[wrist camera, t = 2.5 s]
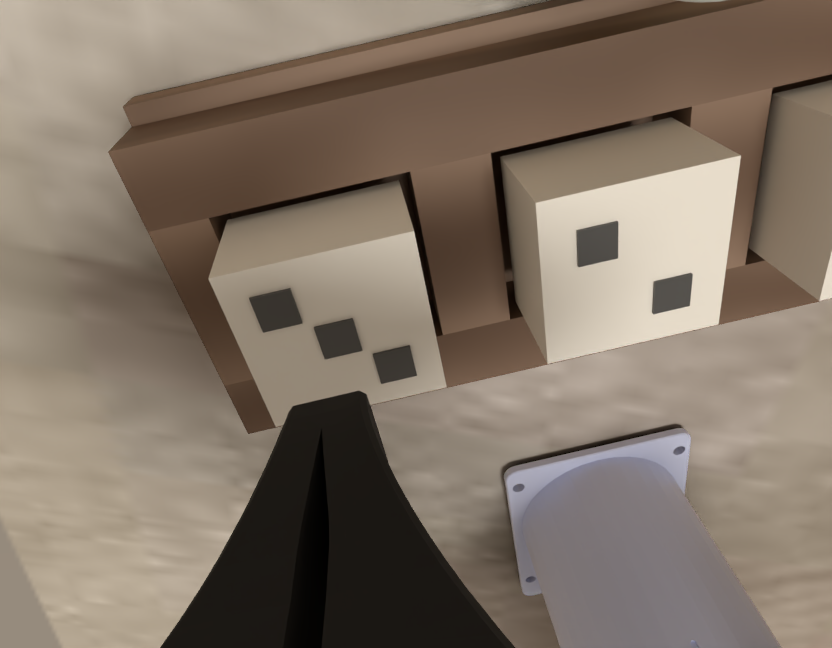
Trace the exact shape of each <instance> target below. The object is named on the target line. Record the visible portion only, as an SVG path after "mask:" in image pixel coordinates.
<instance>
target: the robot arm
mask: <svg viewBox="0 0 832 648" xmlns="http://www.w3.org/2000/svg"><path fill="white" fill-rule="evenodd" d="M690 443H691V436H690V435H689V433H688V432H687V431H686V430H685V429H683V428H676V429H671V430H667V431H663V432H658V433H654V434H650V435H645V436H641V437H637V438H632V439H628V440H624V441H620V442H615V443H611V444H607V445H602V446H598V447H594V448H589V449H585V450H581V451H576V452H572V453H568V454H564V455H559V456H555V457H551V458H546V459H542V460H538V461H533V462H529V463H525V464H520V465H516V466H513V467H510V468H509V469H507V470H506V472H505V473H504V480H505V487H506V493H507V500H508V506H509V513H510V520H511V526H512V533H513V539H514V546H515V552H516V559H517V565H518V572H519V579H520V585H521V589H522V592H523V594H525V595H527V596H533V595H537V594H541V593H542V594H543V597H544V600H545V603H546V606H547V609H548V612H549V615H550V618H551V621H552V624H553V627H554V630H555V633H556V636H557V639H558V642H559V645H560V648H782V647H781V646H780V644H779V643H778V641H777V640H776V638H775V636H774V635H773V633H772V632H771V630H770V629H769V627H768V625H767V624H766V622H765V621H764V619H763V618H762V616H761V614H760V613H759V611H758V610H757V608H756V607H755V605H754V603H753V602H752V600H751V599H750V597H749V596H748V594H747V592H746V591H745V589H744V588H743V586H742V585H741V583H740V581H739V580H738V578H737V577H736V575H735V574H734V572H733V570H732V569H731V567H730V566H729V564H728V563H727V561H726V559H725V558H724V556H723V555H722V553H721V552H720V550H719V548H718V547H717V545H716V544H715V542H714V541H713V539H712V537H711V536H710V534H709V533H708V531H707V530H706V528H705V526H704V525H703V523H702V522H701V520H700V519H699V517H698V515H697V514H696V512H695V511H694V509H693V508H692V506H691V504H690V503H689V501H688V500H687V498H686V497H685V486H686V478H687V469H688V461H689V452H690ZM516 484H517V485H516ZM160 648H515V647H514V646H513V645H512V643H511V642H510V641H509V640H508V639H507V638H506V637H505V635H504V634H503V633H502V632H501V630H500V629H499V628H498V627H497V625H496V624H495V623H494V622H493V620H492V619H491V618H490V617H489V615H488V614H487V613H486V612H485V610H484V609H483V608H482V607H481V605H480V604H479V603H478V602H477V600H476V599H475V598H474V597H473V596H472V594H471V593H470V592H469V591H468V589H467V588H466V587H465V585H464V584H463V583H462V581H461V580H460V579H459V577H458V576H457V574H456V573H455V572H454V570H453V569H452V568H451V566H450V565H449V563H448V562H447V561H446V559H445V558H444V556H443V555H442V553H441V552H440V551H439V549H438V548H437V546H436V545H435V543H434V542H433V540H432V539H431V537H430V536H429V534H428V533H427V531H426V530H425V528H424V526H423V525H422V523H421V522H420V520H419V518H418V517H417V515H416V514H415V512H414V510H413V508H412V507H411V505H410V503H409V502H408V500H407V498H406V497H405V495H404V493H403V491H402V489H401V488H400V486H399V484H398V482H397V480H396V478H395V476H394V474H393V472H392V470H391V468H390V466H389V464H388V460H387V457H386V454H385V450H384V447H383V444H382V441H381V438H380V435H379V431H378V428H377V425H376V422H375V419H374V416H373V413H372V409H371V406H370V403H369V400H368V397H367V394H365V393H363V392H361V391H355V392H351V393H346V394H342V395H338V396H333V397H329V398H325V399H321V400H316V401H312V402H308V403H303V404H299V405H295V406H293V407H292V408H291V409H290V411H289V413H288V415H287V418H286V420H285V423H284V425H283V428H282V430H281V432H280V435H279V437H278V440H277V442H276V444H275V447H274V449H273V451H272V454H271V456H270V458H269V460H268V463H267V465H266V467H265V469H264V471H263V473H262V476H261V478H260V480H259V482H258V484H257V486H256V488H255V490H254V492H253V494H252V496H251V498H250V500H249V503H248V505H247V507H246V509H245V511H244V512H243V514H242V516H241V518H240V520H239V522H238V524H237V525H236V527H235V529H234V531H233V533H232V535H231V536H230V538H229V540H228V542H227V544H226V546H225V547H224V549H223V551H222V553H221V555H220V557H219V558H218V560H217V562H216V563H215V565H214V567H213V568H212V570H211V572H210V573H209V575H208V577H207V578H206V580H205V582H204V583H203V585H202V586H201V588H200V590H199V591H198V593H197V594H196V596H195V597H194V599H193V601H192V602H191V604H190V605H189V607H188V608H187V610H186V611H185V613H184V614H183V616H182V617H181V619H180V620H179V622H178V623H177V625H176V626H175V628H174V629H173V630H172V632H171V633H170V635H169V636H168V637H167V639H166V640H165V642H164V643H163V645H162V646H161V647H160Z"/></svg>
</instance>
